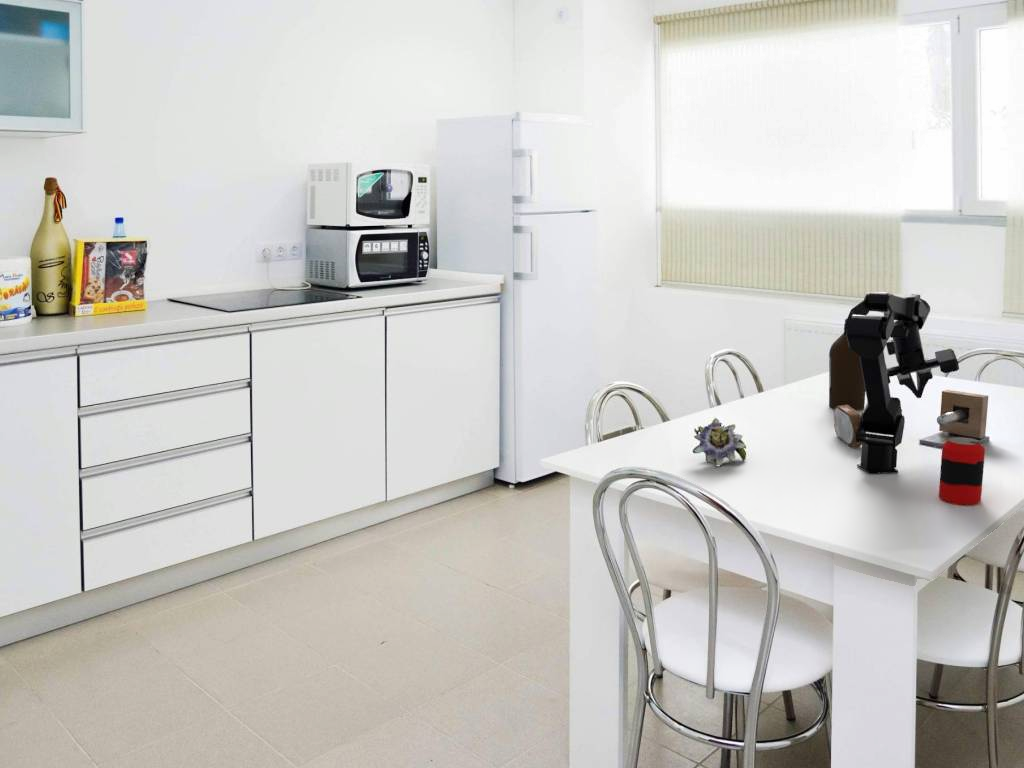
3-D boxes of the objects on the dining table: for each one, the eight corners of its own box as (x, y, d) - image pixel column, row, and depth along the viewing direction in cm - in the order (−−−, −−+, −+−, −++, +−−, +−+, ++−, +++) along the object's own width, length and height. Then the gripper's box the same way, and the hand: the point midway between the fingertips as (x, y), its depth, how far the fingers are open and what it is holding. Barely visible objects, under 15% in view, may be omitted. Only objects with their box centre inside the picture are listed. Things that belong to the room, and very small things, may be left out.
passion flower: (718, 489, 214) (691, 451, 210) (704, 467, 224) (678, 430, 220) (760, 461, 213) (735, 423, 209) (744, 440, 223) (719, 403, 219)
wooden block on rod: (979, 438, 227) (983, 397, 225) (939, 430, 234) (942, 391, 233) (984, 436, 228) (988, 395, 226) (944, 429, 236) (947, 389, 234)
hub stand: (960, 451, 221) (963, 405, 219) (919, 443, 229) (922, 398, 227) (989, 440, 230) (992, 396, 228) (948, 433, 238) (951, 390, 236)
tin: (864, 449, 225) (866, 415, 223) (850, 450, 225) (852, 415, 223) (843, 434, 239) (845, 401, 238) (830, 434, 239) (832, 401, 238)
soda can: (974, 508, 182) (978, 448, 180) (933, 500, 187) (937, 441, 185) (985, 498, 188) (990, 439, 185) (945, 491, 193) (949, 434, 190)
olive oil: (871, 406, 269) (876, 318, 264) (858, 413, 261) (863, 322, 256) (834, 401, 276) (838, 315, 271) (820, 408, 268) (825, 320, 263)
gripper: (944, 315, 220) (954, 369, 227) (860, 334, 226) (872, 386, 233) (954, 340, 211) (964, 395, 218) (866, 359, 217) (879, 413, 224)
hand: (918, 397), depth 224 cm, fingers closed
